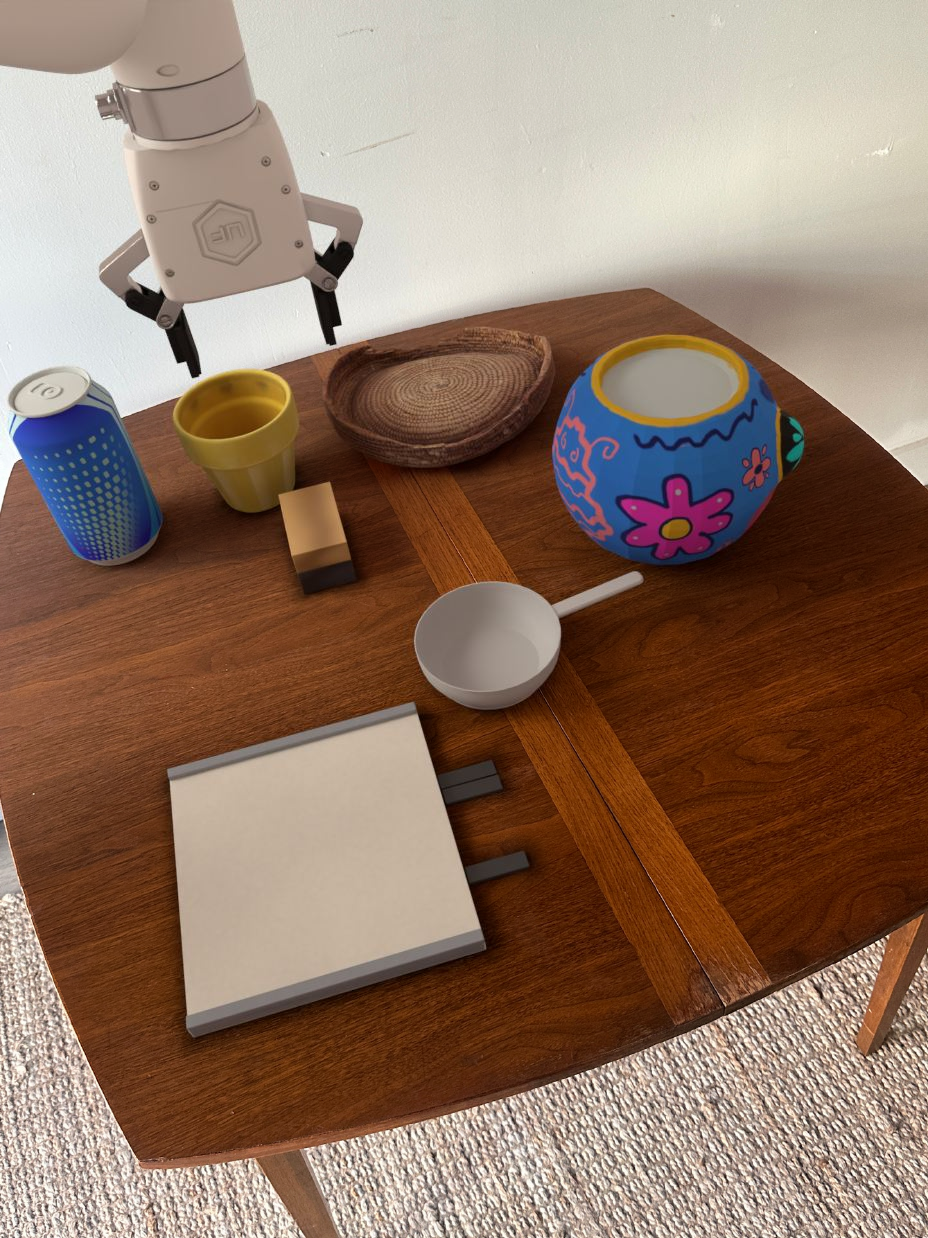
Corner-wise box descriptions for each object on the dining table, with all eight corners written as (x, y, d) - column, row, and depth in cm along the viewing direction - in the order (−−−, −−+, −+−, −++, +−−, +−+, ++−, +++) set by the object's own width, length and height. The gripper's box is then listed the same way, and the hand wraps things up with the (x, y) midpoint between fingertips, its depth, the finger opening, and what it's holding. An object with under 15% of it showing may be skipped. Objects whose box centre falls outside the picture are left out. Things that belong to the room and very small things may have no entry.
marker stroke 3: (469, 886, 65) (469, 883, 65) (465, 870, 66) (464, 867, 65) (530, 869, 65) (529, 866, 65) (524, 853, 66) (524, 850, 66)
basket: (505, 328, 108) (502, 286, 104) (598, 427, 95) (597, 382, 91) (305, 396, 103) (294, 354, 100) (374, 509, 90) (364, 466, 87)
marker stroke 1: (441, 792, 70) (441, 789, 70) (437, 778, 71) (437, 775, 71) (497, 776, 70) (497, 773, 70) (492, 762, 71) (492, 759, 71)
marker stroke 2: (446, 807, 69) (445, 803, 69) (442, 792, 70) (441, 789, 70) (503, 791, 69) (502, 788, 69) (498, 777, 70) (498, 774, 70)
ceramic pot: (815, 560, 81) (848, 403, 70) (611, 632, 78) (611, 480, 67) (705, 439, 92) (719, 288, 81) (524, 497, 89) (512, 349, 78)
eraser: (304, 595, 84) (291, 555, 81) (290, 533, 89) (278, 494, 86) (356, 581, 85) (346, 541, 81) (340, 520, 90) (329, 481, 87)
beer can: (161, 497, 95) (98, 348, 83) (172, 554, 89) (106, 403, 77) (71, 523, 94) (-6, 375, 82) (77, 583, 88) (-5, 433, 76)
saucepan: (401, 641, 79) (393, 607, 77) (608, 565, 83) (608, 530, 80) (450, 742, 72) (444, 709, 70) (675, 655, 76) (677, 621, 73)
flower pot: (284, 536, 89) (256, 447, 82) (184, 517, 92) (148, 430, 85) (334, 463, 96) (311, 374, 88) (238, 447, 99) (209, 361, 92)
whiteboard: (193, 1038, 60) (186, 1029, 59) (173, 779, 73) (167, 768, 72) (486, 949, 62) (484, 939, 61) (416, 712, 75) (414, 701, 74)
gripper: (39, 154, 56) (143, 409, 69) (344, 89, 58) (391, 350, 70) (43, 106, 61) (139, 352, 74) (323, 48, 63) (371, 298, 76)
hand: (262, 351), depth 72 cm, fingers open, 9 cm apart
